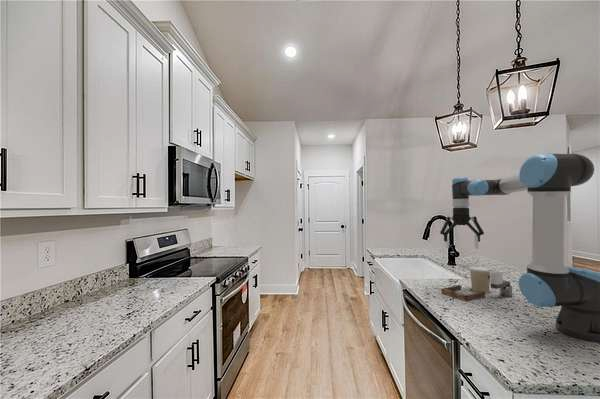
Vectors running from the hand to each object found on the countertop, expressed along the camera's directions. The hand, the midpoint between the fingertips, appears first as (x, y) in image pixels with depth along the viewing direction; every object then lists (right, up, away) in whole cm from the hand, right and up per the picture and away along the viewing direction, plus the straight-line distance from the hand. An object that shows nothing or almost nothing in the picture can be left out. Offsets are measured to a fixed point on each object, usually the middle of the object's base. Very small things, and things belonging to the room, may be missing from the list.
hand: (461, 248), depth 151 cm
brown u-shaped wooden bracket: (0, -24, -2) cm, 24 cm away
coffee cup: (+12, -24, +4) cm, 27 cm away
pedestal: (+20, -23, -4) cm, 31 cm away
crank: (+16, -18, -6) cm, 25 cm away
